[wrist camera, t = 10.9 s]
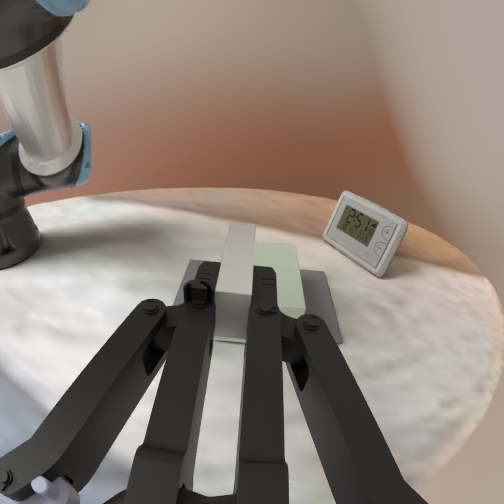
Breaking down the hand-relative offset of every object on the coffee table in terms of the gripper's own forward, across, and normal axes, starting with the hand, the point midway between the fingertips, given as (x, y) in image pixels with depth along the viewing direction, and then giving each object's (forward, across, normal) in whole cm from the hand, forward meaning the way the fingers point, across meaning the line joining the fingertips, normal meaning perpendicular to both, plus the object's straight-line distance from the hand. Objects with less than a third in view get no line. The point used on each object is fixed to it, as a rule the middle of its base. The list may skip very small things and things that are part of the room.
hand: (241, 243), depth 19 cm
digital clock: (+32, +21, -19) cm, 43 cm away
